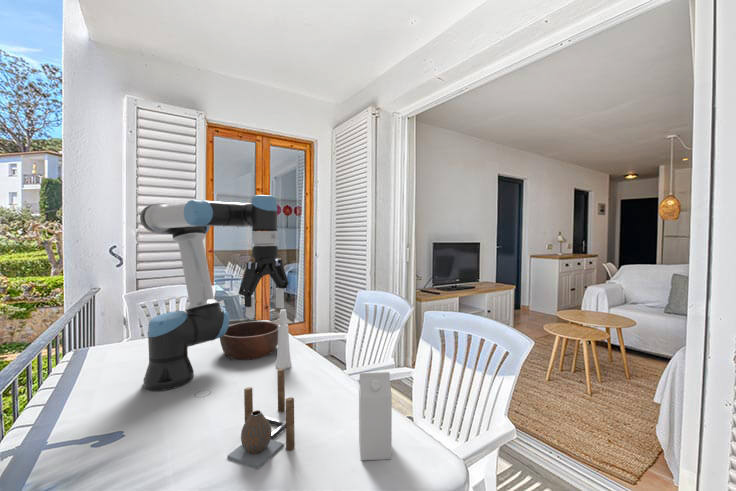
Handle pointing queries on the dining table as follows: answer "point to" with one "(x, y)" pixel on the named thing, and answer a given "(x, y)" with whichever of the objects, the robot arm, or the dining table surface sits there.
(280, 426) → the grey l-shaped bracket
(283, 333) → the cosmetic bottle
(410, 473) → the dining table surface
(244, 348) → the wooden bowl
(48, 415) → the dining table surface
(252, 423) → the vase
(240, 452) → the pad
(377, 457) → the milk carton
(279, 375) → the posts
